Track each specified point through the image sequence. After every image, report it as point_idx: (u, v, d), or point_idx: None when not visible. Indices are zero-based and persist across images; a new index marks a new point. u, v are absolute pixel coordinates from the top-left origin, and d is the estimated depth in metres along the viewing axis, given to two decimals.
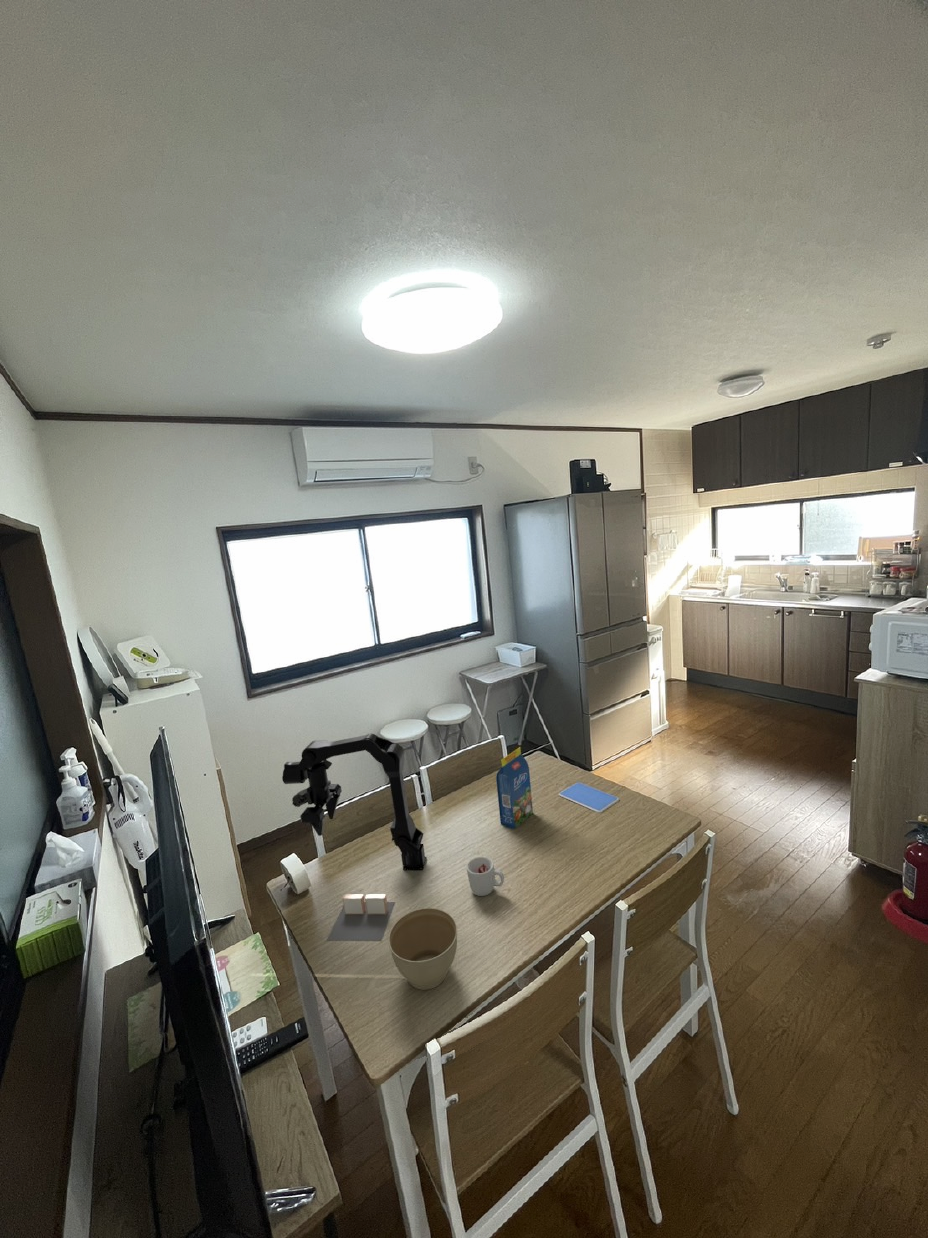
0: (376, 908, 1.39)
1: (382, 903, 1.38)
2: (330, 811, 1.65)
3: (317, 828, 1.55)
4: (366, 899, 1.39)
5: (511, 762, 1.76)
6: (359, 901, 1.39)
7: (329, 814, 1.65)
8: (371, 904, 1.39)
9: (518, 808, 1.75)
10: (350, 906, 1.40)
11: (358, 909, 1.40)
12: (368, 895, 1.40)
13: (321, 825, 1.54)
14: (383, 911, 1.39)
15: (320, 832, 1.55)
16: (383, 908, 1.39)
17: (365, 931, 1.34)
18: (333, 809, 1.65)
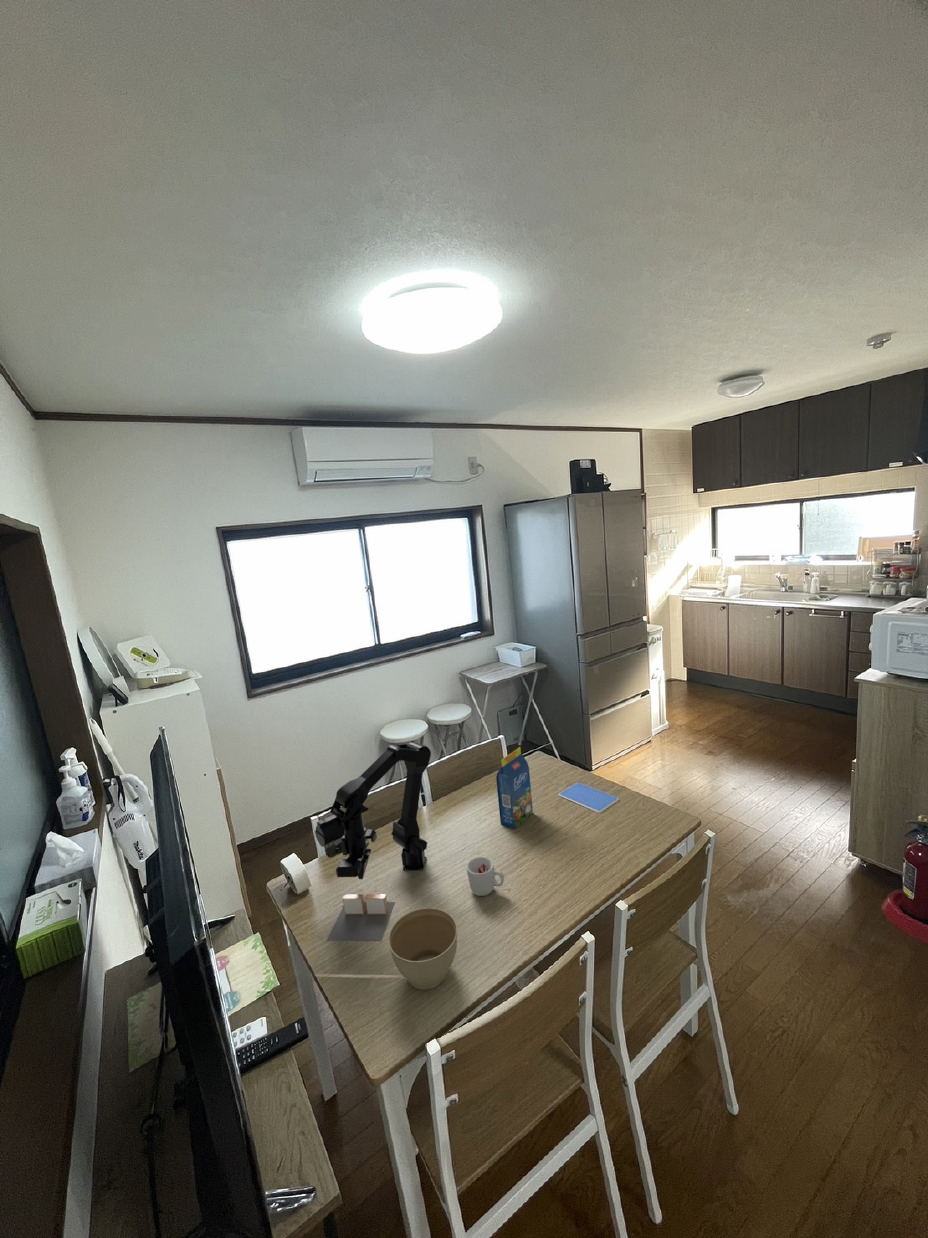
0: (376, 908, 1.39)
1: (382, 903, 1.38)
2: None
3: None
4: (366, 899, 1.39)
5: (511, 762, 1.76)
6: (359, 901, 1.39)
7: (359, 873, 1.47)
8: (371, 904, 1.39)
9: (518, 808, 1.75)
10: (350, 906, 1.40)
11: (358, 909, 1.40)
12: (368, 895, 1.40)
13: (363, 869, 1.45)
14: (383, 911, 1.39)
15: (361, 876, 1.46)
16: (383, 908, 1.39)
17: (365, 931, 1.34)
18: None
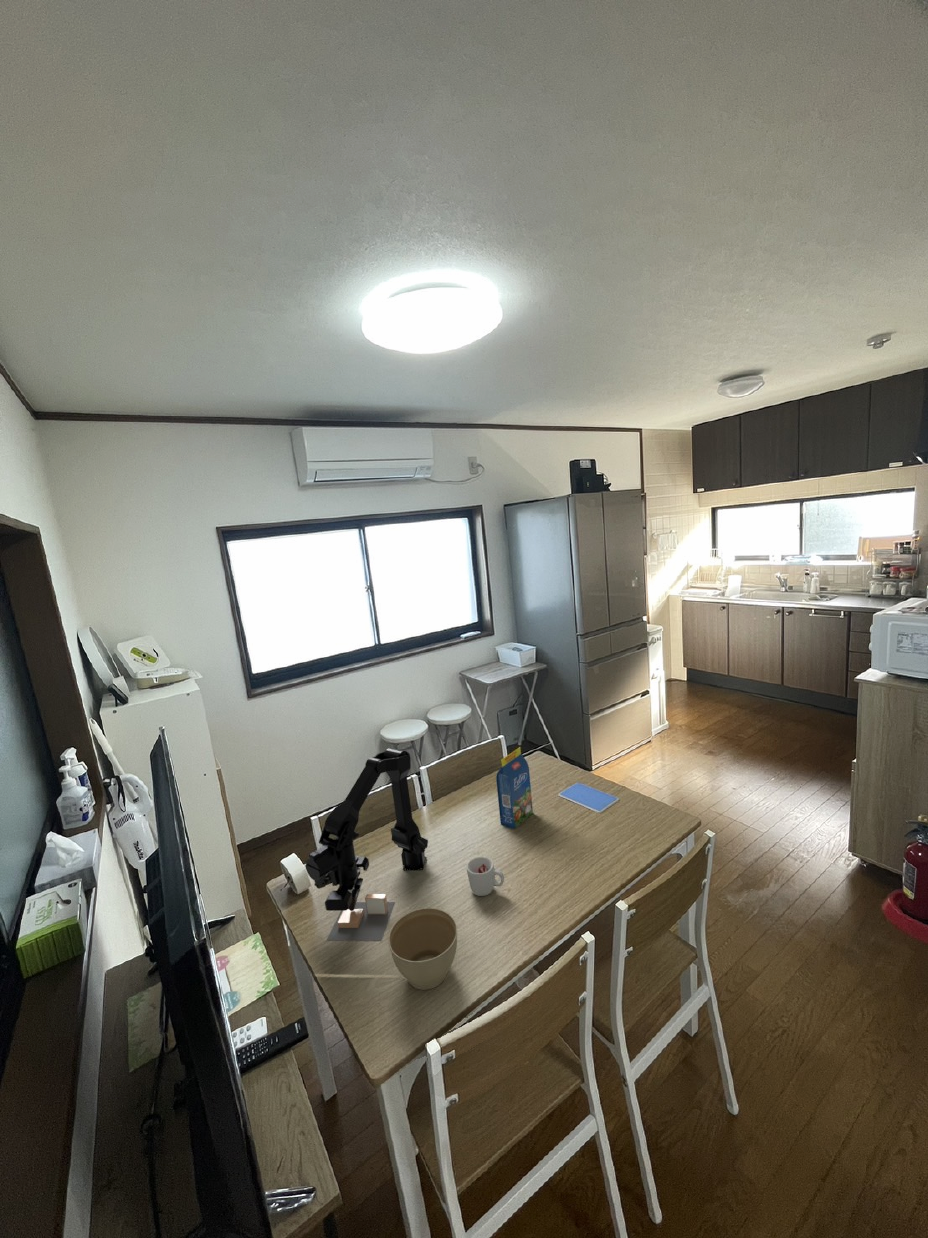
0: (376, 908, 1.39)
1: (382, 903, 1.38)
2: None
3: None
4: (366, 899, 1.39)
5: (511, 762, 1.76)
6: None
7: None
8: (371, 904, 1.39)
9: (518, 808, 1.75)
10: None
11: None
12: (368, 895, 1.40)
13: (354, 900, 1.37)
14: (383, 911, 1.39)
15: (352, 907, 1.38)
16: (383, 908, 1.39)
17: (365, 931, 1.34)
18: None
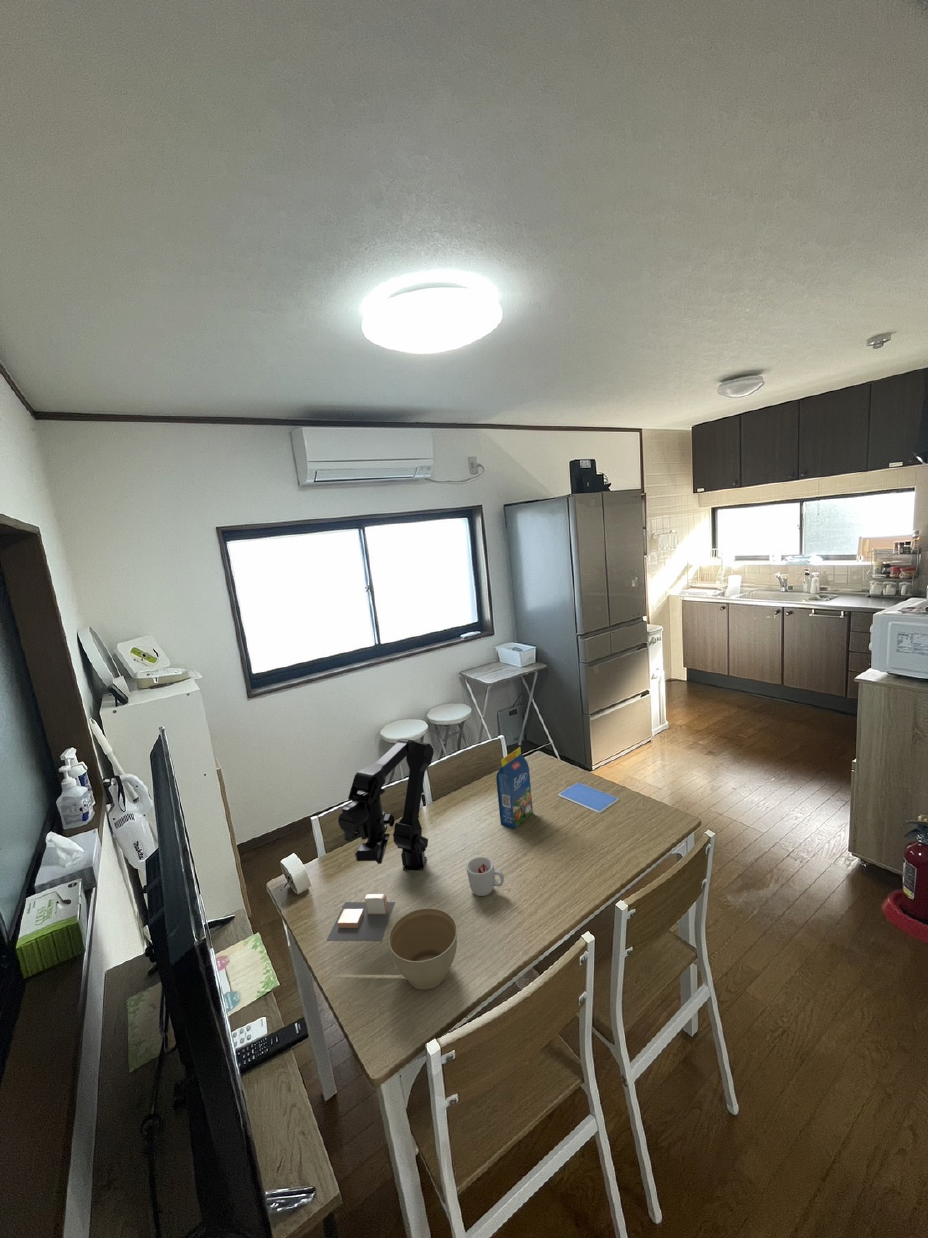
0: (376, 908, 1.39)
1: (382, 903, 1.38)
2: None
3: None
4: (366, 899, 1.39)
5: (511, 762, 1.76)
6: None
7: None
8: (371, 904, 1.39)
9: (518, 808, 1.75)
10: None
11: None
12: (368, 895, 1.40)
13: (382, 853, 1.43)
14: (383, 911, 1.39)
15: (380, 860, 1.44)
16: (383, 908, 1.39)
17: (365, 931, 1.34)
18: None
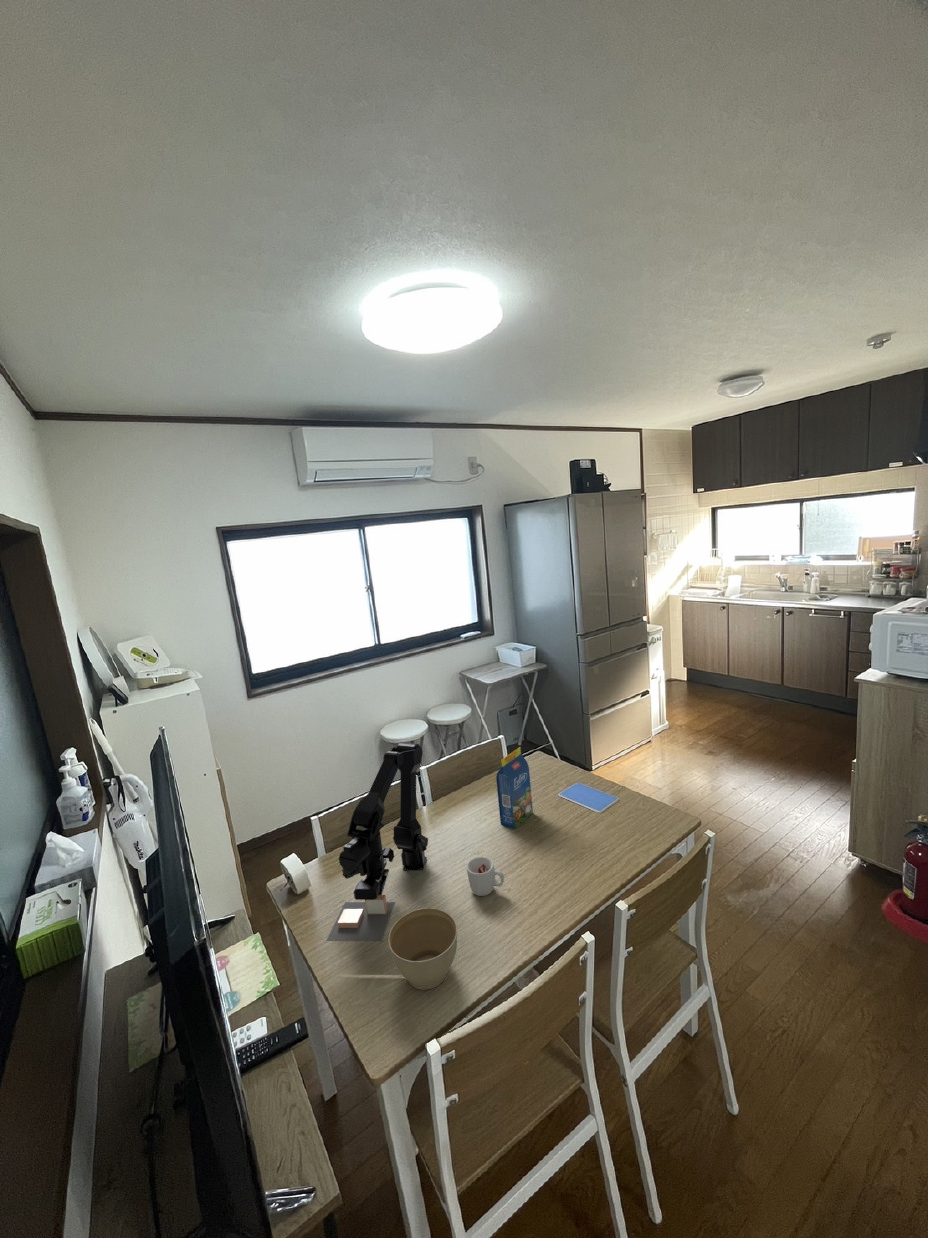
0: (376, 909, 1.39)
1: (382, 904, 1.38)
2: None
3: None
4: (366, 900, 1.38)
5: (511, 762, 1.76)
6: None
7: None
8: (371, 905, 1.39)
9: (518, 808, 1.75)
10: None
11: None
12: None
13: (381, 890, 1.39)
14: (383, 911, 1.39)
15: None
16: (383, 908, 1.38)
17: (365, 931, 1.34)
18: None
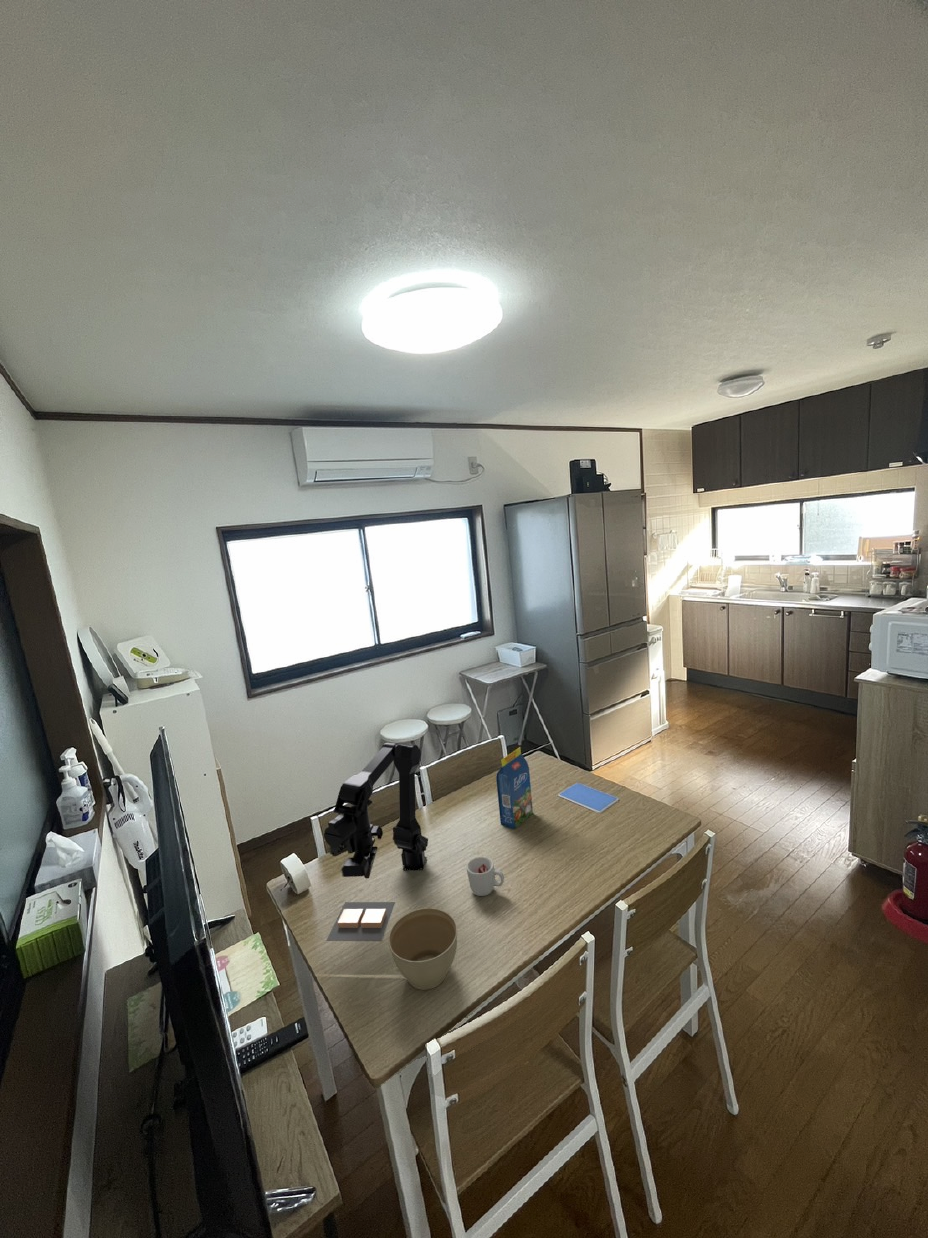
0: None
1: None
2: None
3: None
4: None
5: (511, 762, 1.76)
6: None
7: None
8: None
9: (518, 808, 1.75)
10: None
11: None
12: (363, 924, 1.34)
13: (369, 867, 1.37)
14: None
15: (368, 875, 1.38)
16: None
17: (365, 931, 1.34)
18: None
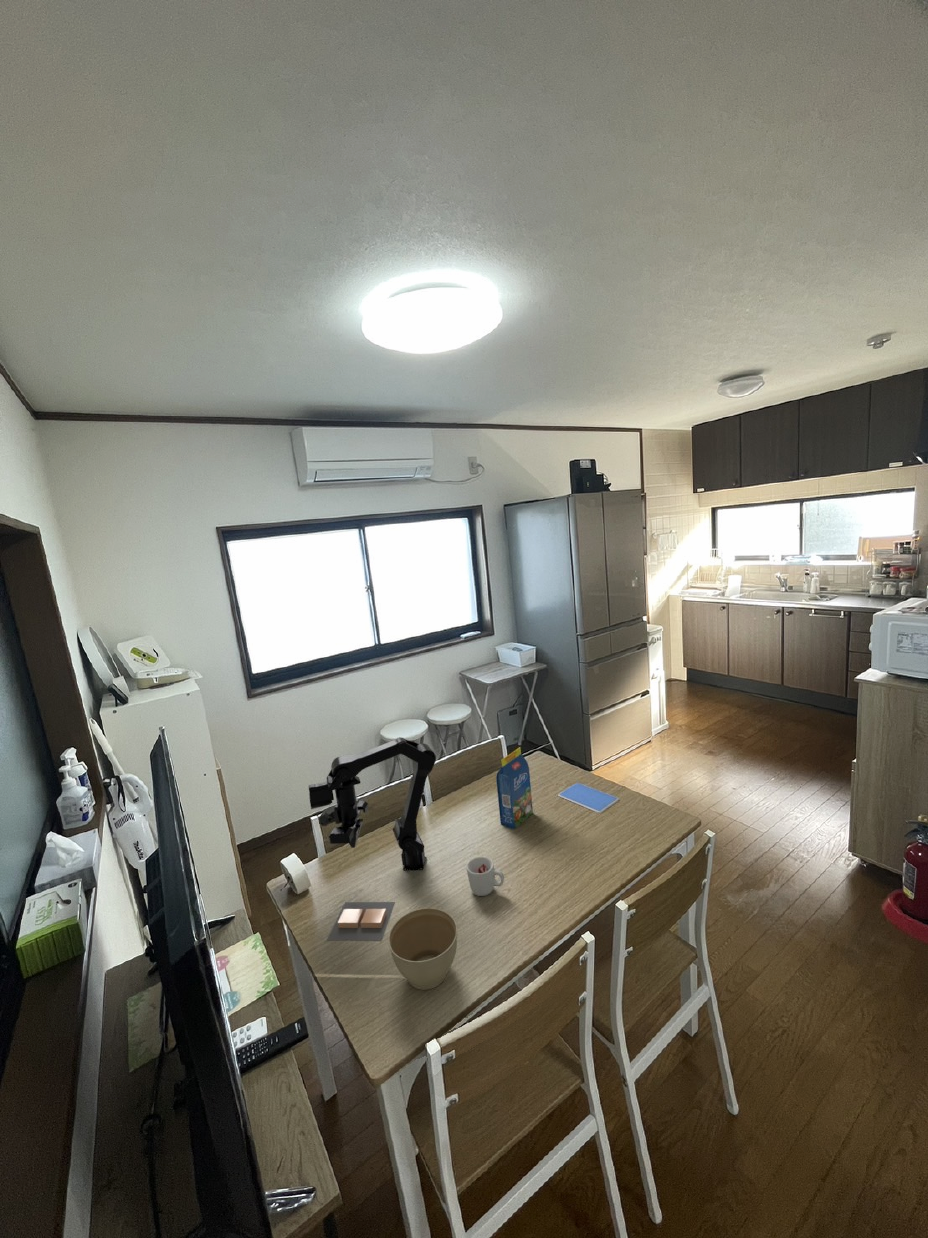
0: None
1: None
2: None
3: (350, 840, 1.51)
4: None
5: (511, 762, 1.76)
6: None
7: None
8: None
9: (518, 808, 1.75)
10: None
11: None
12: (363, 924, 1.34)
13: (355, 837, 1.50)
14: None
15: (353, 844, 1.51)
16: None
17: (365, 931, 1.34)
18: None
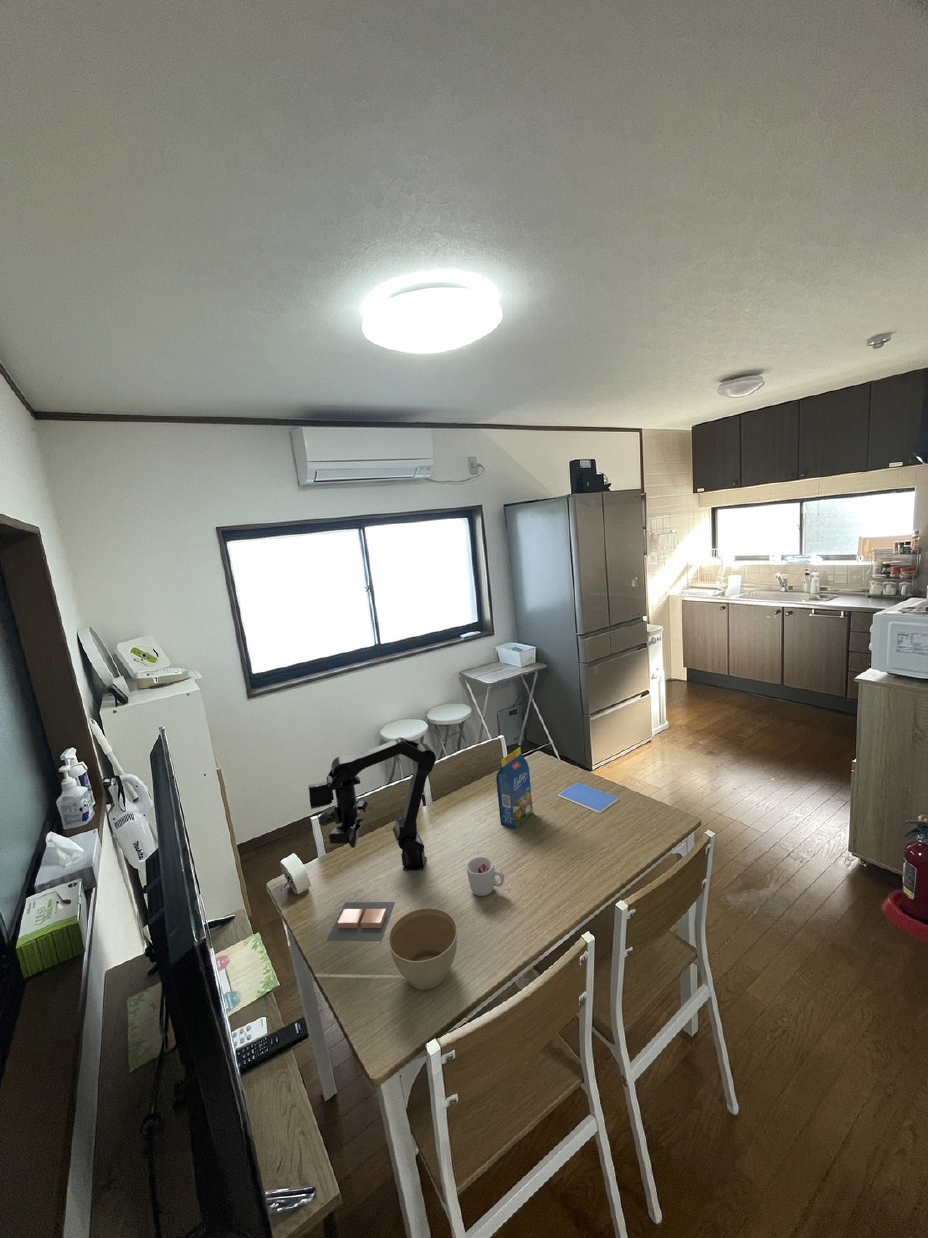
0: None
1: None
2: None
3: (350, 840, 1.51)
4: None
5: (511, 762, 1.76)
6: None
7: None
8: None
9: (518, 808, 1.75)
10: None
11: None
12: (363, 924, 1.34)
13: (355, 837, 1.50)
14: None
15: (353, 844, 1.51)
16: None
17: (365, 931, 1.34)
18: None
